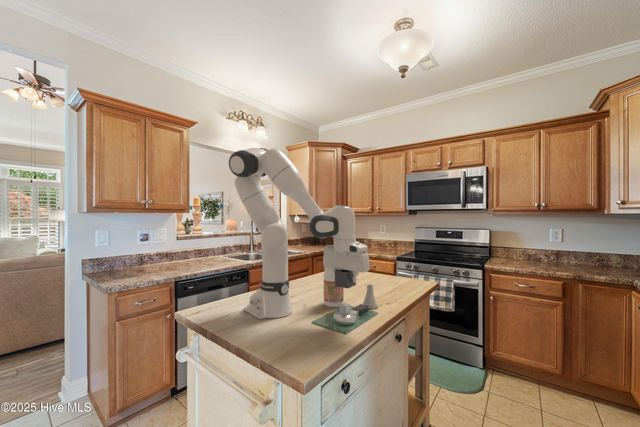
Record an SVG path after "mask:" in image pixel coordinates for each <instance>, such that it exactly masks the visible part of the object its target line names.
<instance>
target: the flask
mask: <svg viewBox="0 0 640 427" xmlns="http://www.w3.org/2000/svg"><path fill="white" fill-rule="evenodd" d="M362 305H367V306H368V310H372V309H375V310H376V309H377V308H378V307H379V305H378V302H377V300H376V297H375V294H374V285H373V284H372V283H371V284H370V283H369V284H366V293H365V296H364V299H363V303H362Z"/></svg>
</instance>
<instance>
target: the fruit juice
mask: <svg viewBox="0 0 640 427" xmlns="http://www.w3.org/2000/svg"><path fill="white" fill-rule="evenodd" d="M323 268H324V273H323V305H324V306H325V307H328V308H340V304H342V303H345V302H344V288H342V287H337V286H335V275H334V273H333V270H332V268H327V267H324V266H323ZM338 270H339V269H338Z"/></svg>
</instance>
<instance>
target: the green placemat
mask: <svg viewBox="0 0 640 427" xmlns="http://www.w3.org/2000/svg"><path fill="white" fill-rule="evenodd" d="M377 315H379V312H377V311H374V310H371V309H368V306H367V305H363V303H362V304H361V303H360V304H358V305H356V306H353V305H351V303H350V304H349V303H346V302H343V303H342V304H340V307H338V308H337V309H335V310H333V311H331V312H329V313H327V314H325V315H323V316H320V317H318V318H316V319H314V320H311V323H312V324H314V325H316V326H320V327H323V328H327V329H329V330H332V331H335V332H338V333H341V334H345V335H347V334H348V333H350V332H351V331H353V330H355V329H357V328H358V327H360V326H361V325H363V324H365V322H368V321H369V320H371V319H372V318H374V317H375V316H377Z"/></svg>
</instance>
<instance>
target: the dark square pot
mask: <svg viewBox="0 0 640 427" xmlns="http://www.w3.org/2000/svg"><path fill="white" fill-rule="evenodd" d="M353 276H354V274H353V271H349V270H341V269H339V270H336V271H335V286H337V287H342V288H343V289H350V288H352V287H354V286H357V281H356V282H355V283H353V282H351V278H352V277H353Z"/></svg>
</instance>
